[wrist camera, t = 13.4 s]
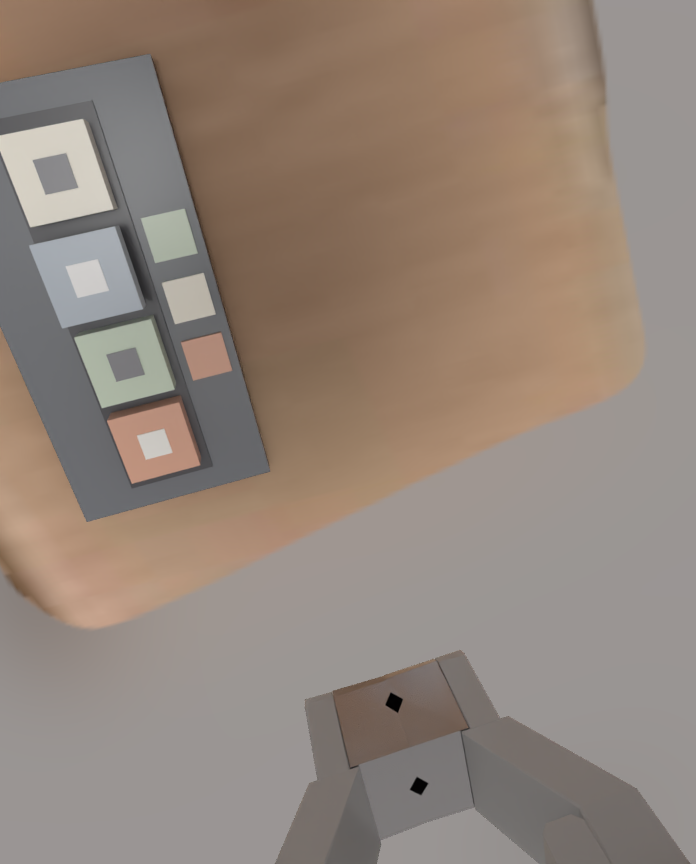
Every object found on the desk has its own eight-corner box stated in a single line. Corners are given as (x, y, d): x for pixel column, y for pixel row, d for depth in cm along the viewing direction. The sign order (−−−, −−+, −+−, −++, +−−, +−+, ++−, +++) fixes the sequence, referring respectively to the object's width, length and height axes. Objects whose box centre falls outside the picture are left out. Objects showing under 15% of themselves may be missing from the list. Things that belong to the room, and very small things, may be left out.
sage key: (79, 332, 34) (73, 338, 32) (153, 314, 34) (150, 319, 33) (106, 400, 35) (101, 408, 34) (176, 382, 36) (174, 390, 34)
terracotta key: (110, 412, 36) (106, 421, 34) (180, 395, 36) (178, 402, 35) (134, 474, 37) (131, 484, 36) (201, 456, 38) (200, 465, 36)
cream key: (3, 139, 30) (-7, 136, 28) (88, 122, 30) (82, 118, 29) (37, 226, 31) (29, 227, 30) (117, 208, 32) (113, 209, 30)
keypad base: (-88, 105, 30) (-103, 100, 28) (152, 59, 31) (149, 52, 30) (90, 512, 39) (86, 524, 38) (268, 464, 40) (270, 473, 39)
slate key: (36, 243, 30) (28, 245, 29) (118, 225, 31) (114, 226, 29) (68, 323, 32) (61, 328, 31) (146, 305, 33) (142, 309, 31)
